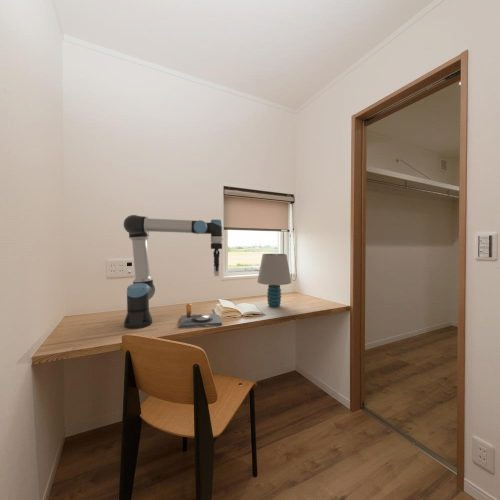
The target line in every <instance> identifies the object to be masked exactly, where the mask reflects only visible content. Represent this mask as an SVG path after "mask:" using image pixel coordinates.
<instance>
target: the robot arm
mask: <svg viewBox="0 0 500 500" xmlns="http://www.w3.org/2000/svg"><path fill="white" fill-rule="evenodd" d="M123 229H124V231H126V232H127V233H128V238H129V239H130V240H131V242H132V253H133V254H132V256H133V264H134V275H135V278H134V279H133V280H132V284H129V285H128V286H127V289H126V305H127V306H126V308H127V309H126V310H127V312H126V315H125V317H124V318H125V319H124V321H123V322H124V323H123V326H124V328H127V329H141V328H146V327H148V326H150V325H151V324H153V318H152V315H151V312H150V300H151V299H152V298H153V297H154V296H155V292H156V288H155V285H154V279H153V277H151V274H150V262H149V261H150V260H149V251H148V250H149V249H148V239H150V232H158V233H183V234H184V233H187V234H189V233H190V234H195V235H200V234H201V235H205V234H206V235H207V234H208V235H210V249H211V250H213V274H214V277H219V276H220V253H221V252H220V250H222V249H223V240H224V238H223V220H221V219H211V220H210V221H209V222H206V221H203V220H189V219H188V220H186V219H172V218H171V219H166V218H149V217H148V216H145V215H144V216H142V215H137V214H131V215H128V216H126V218H125V219H124V221H123Z"/></svg>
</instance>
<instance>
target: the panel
mask: <svg viewBox="0 0 500 500" xmlns="http://www.w3.org/2000/svg"><path fill="white" fill-rule="evenodd" d="M208 314H209V315H210V316H211V319H210V320H208V321H195V320H194V317H191V318H187V317H186V314H184V315H183V314H182V315H180V321H179V325H178V326H179V329H185V328H187V327H188V328H197V327H196V326H202V327H206V326H205V325H216V326H222V325H223V321H222V319H221V318H222V317H221V315H220V314H219V315H220V316H219V315H217V314H216V312H215V313H208Z"/></svg>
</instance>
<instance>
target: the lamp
mask: <svg viewBox="0 0 500 500" xmlns="http://www.w3.org/2000/svg"><path fill="white" fill-rule="evenodd" d="M289 267H290V266H289V261H288V256H287V254H286V253H263V254H262V256H261V259H260V266H259V271H258V277H257V283H258V284H261V285H267V293H266V294H267V296H266V297H267V304H268V307H269V308H280V306H281V302H282V292H281V291H282V288H281V286H285V285H290V284H292V278H291V273H290V268H289Z"/></svg>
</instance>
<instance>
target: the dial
mask: <svg viewBox="0 0 500 500" xmlns="http://www.w3.org/2000/svg"><path fill="white" fill-rule="evenodd" d="M185 307H186V310H185V311H186V314H185V315H186V317H187V318H191V317H194V320H195V321H208V320H210V319H211V316H210V315H209V314H210V313H196V314H192V303H186V306H185Z"/></svg>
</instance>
